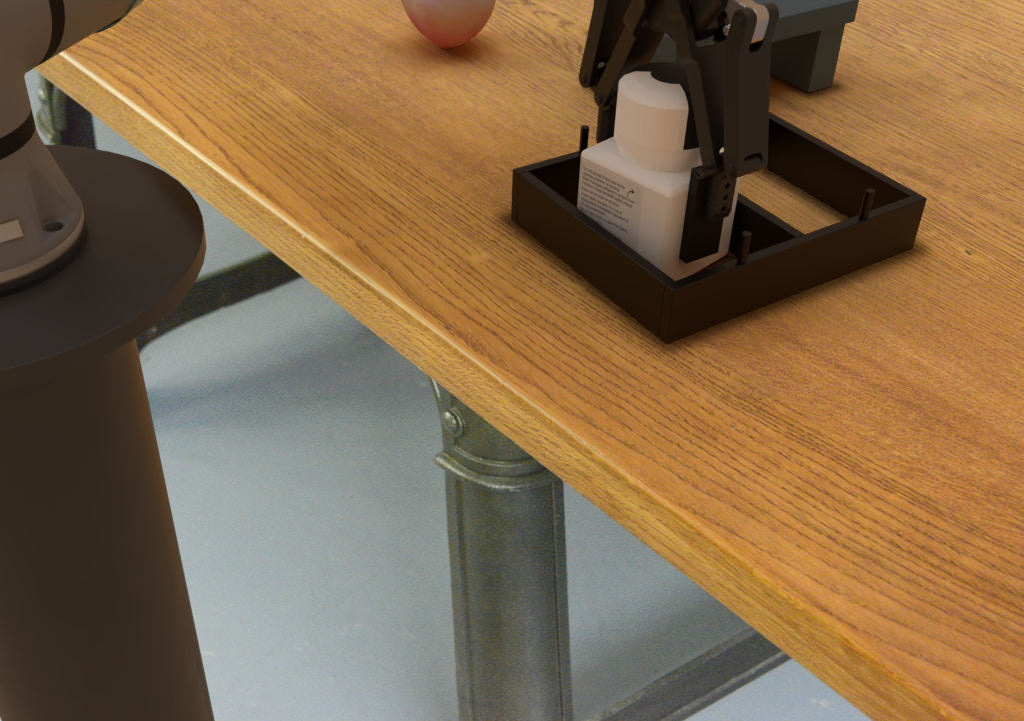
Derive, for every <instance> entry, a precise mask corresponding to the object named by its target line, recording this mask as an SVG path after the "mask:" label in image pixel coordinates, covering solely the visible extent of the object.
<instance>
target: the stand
mask: <svg viewBox="0 0 1024 721" xmlns="http://www.w3.org/2000/svg"><path fill="white" fill-rule="evenodd" d="M753 1H754V2H755V3H757V4H759V5H762V4H766V3H771V2H772V3H774V4H775V5H776V6H777V7H778V10H779V19H778V22H777V26H776V29H775V33H774V36H773V39H772V43H771V53H770V75H773V76H775V77H776V78H778V79H780V80H782V81H785V82H786V83H788V84H790V85H792V86H794V87H796V88H798V89H800V90H802V91H804V92H805V93H813V92H816V91H820V90H824V89H827V88H831V87H833V84H834V81H835V80H834V79H835V76H836V75H835V74H836V69H837V65H838V60H839V57H840V56H839V55H840V52H841V46H842V42H843V37H844V33H845V27H846V24H847V25H848V24H850V23H854V22H855V21H856V16H857V12H858V7H859V3H860V0H753ZM594 2H595V0H593V3H594ZM593 6H594V4H593ZM593 6H592V7H593ZM712 41H713V35H712V36H711V37H710V38H708V39H705V40H701V41H697V42H696V45H697V46H701V45H706V44H710V43H712ZM656 62H675V63H682V62H680V60H679V59H678V56H677V50H676V43H675V41H673V40H672V39H671V38H670V37H669V36H668V35H667V34H666V33H665V34H664V36H663V38H662V40H661V42H660V44H659V46H658V48H657V50H656V52H655V54H654V56H653V58H652V60H651V62H650V63H656ZM682 64H684V63H682ZM599 66H603V62H601V63H599V65H598V67H599Z"/></svg>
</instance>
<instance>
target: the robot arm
mask: <svg viewBox="0 0 1024 721" xmlns="http://www.w3.org/2000/svg"><path fill="white" fill-rule="evenodd" d="M144 1H145V0H0V297H3V296H7V295H10V294H13V293H16V292H19V291H22V290H24V289H27V288H29V287H32V286H34V285H36V284H38V283H40V282H42V281H44V280H46V279H48V278H50V277H51V276H53V275H55V274H56V273H58V272H59V271H61V270H62V269H63V268H65V267H66V266H67V265H69V264H70V263H71V262H72V261H73V260H74V259H75V258H76V257H77V255H78V254H79V253H80V252H81V250H82V249H83V247H84V245H85V243H86V239H87V234H88V230H87V224H86V220H85V215H84V211H83V206H82V203H81V200H80V199H79V197H78V196H77V194H76V192H75V191H74V189H73V188H72V186H71V185H70V183H69V182H68V180H67V178H66V177H65V175H64V174H63V172H62V171H61V169H60V168H59V166H58V164H57V163H56V161H55V160H54V158H53V157H52V155H51V153H50V152H49V150H48V149H47V147H46V146H45V145H46V144H45V142H44V141H43V139H42V138H41V136H40V134H39V132H38V129H37V126H36V120H35V118H34V112H33V109H32V104H31V100H30V96H29V92H28V87H27V82H26V78H25V76H26V74H27V73H28V72H30V71H32V70H34V69H35V68H37V67H38V66H41V65H43V64H44V63H46V62H47V61H50V60H51V59H52V58H54V57H56V56H58V55H59V54H61V53H62V52H64V51H66V50H68V49H69V48H71V47H73V46H75V45H76V44H78V43H80V42H81V41H83V40H85V39H86V38H88V37H90V36H92V35H93V34H98V33H102V32H104V31H106V30H108V29H111V28H113V27H114V26H117V25H118V24H119V23H121V22H122V20H123V19H124V18H126V17H128V15H129V14H130V13H131V12H132V11H133V10H135V9H136V8H137V7H138V6H140V5H141V4H142V3H143V2H144ZM593 5H594V6H592V12H591V15H590V16H591V17H590V21H589V25H588V30H587V35H586V39H585V45H584V50H583V53H582V54H583V55H582V59H581V63H580V68H579V72H578V81H579V83H580V86H581V88H582V89H590V90H591V91H592V92H593V99H594V103H595V105H596V106H597V107H598V109H597V110H598V111H597V122H596V125H597V126H596V134H595V135H596V136H595V142H596V144H598V143H600V142H603V141H605V140H607V139H609V138H611V137H614V128H615V117H616V106H617V95H618V85H619V80H620V79H621V77H622V76H623V75H624V74H625V73H626V72H628V71H629V70H631V69H632V68H635V67H638V66H641V65H645V64H650V62H651V60H652V58H653V56H654V54H655V52H656V50H657V48H658V46H659V44H660V42H661V40H662V38H663V36H664V34H665V33H666V34H667V35H668V36H669V37H670V38H671V39H672V40H673V41H675V43H676V50H677V56H678V59H679V60H680V62H682V63H684V64H685V65H686V69H687V75H688V81H689V88H690V94H691V100H692V106H693V112H694V118H695V124H696V130H697V137H698V143H699V149H700V155H701V161H702V165H701V166H698V167H694V168H691V175H690V182H689V190H688V197H687V204H686V211H685V218H684V225H683V233H682V240H681V247H680V254H679V259H680V260H682V261H683V262H685V263H686V264H687V263H690V262H693V261H696V260H699V259H701V258H704V257H707V256H710V255H713V254H716V253H718V250H719V244H720V238H721V232H722V226H723V220H724V218H725V217H728V216H729V214H730V212H731V210H732V204H733V203H732V202H733V196H734V192H735V186H736V181H737V178H738V177H741V178H742V177H744V176H747V175H750V174H753V173H756V172H760V171H763V170H765V169H767V168H766V167H767V164H768V134H769V112H770V94H771V93H770V90H771V73H770V53H771V43H772V39H773V36H774V33H775V29H776V26H777V22H778V19H779V10H778V7H777V6H776V5H775V4H774V3H772V2H771V3H766V4H762V5H759V4H757V3H755V2H754V1H753V0H595V2H594V1H593ZM712 35H713V41H712V43H710V44H706V45H701V46H697V45H696V42H697V41H701V40H705V39H708V38H710V37H711V36H712ZM601 62H603V66H599V67H598V65H599V63H601ZM722 148H724V152H721V153H720V150H721V149H722Z"/></svg>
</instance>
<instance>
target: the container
mask: <svg viewBox="0 0 1024 721" xmlns="http://www.w3.org/2000/svg"><path fill="white" fill-rule="evenodd" d="M721 152H724V148H722V149H721V150H720V153H721ZM701 165H702V161H701V155H700V149H699V143H698V137H697V130H696V124H695V118H694V112H693V106H692V100H691V94H690V88H689V81H688V75H687V69H686V65H685V64H682V63H675V62H656V63H650V64H645V65H641V66H638V67H635V68H632V69H631V70H629V71H628V72H626V73H625V74H624V75H623V76H622V77H621V79H620V80H619V85H618V95H617V106H616V117H615V128H614V137H611V138H609V139H607V140H605V141H603V142H600V143H598V144H597V143H596V144H594V145H592V146H588V148H587V149H585V150H583V151H582V153H581V162H580V176H579V189H578V202H577V205H576V208H578V209H579V210H581V211H582V212H583V213H585V214H586V215H587V216H589V217H590V218H591V219H593V220H594V221H595V222H597V223H598V224H599V225H601V226H602V227H603V228H605V229H606V230H607V231H609V232H610V233H611V234H613V235H614V236H615V237H617V238H618V239H619V240H621V241H622V242H624V243H625V244H626V245H628V246H629V247H630V248H632V249H633V250H634V251H636V252H637V253H638V254H640V255H641V256H642V257H644V258H645V259H646V260H648V261H649V262H650V263H652V264H653V265H654V266H656V267H657V268H658V269H660V270H661V271H662V272H664V273H665V274H667V275H668V276H669V277H671V278H672V279H673V280H674V281H677V280H679V279H682V278H685V277H688V276H690V275H693V274H696V273H699V272H701V271H702V270H703V269H705V268H707V267H708V266H710V265H711V264H713V263H715V262H716V261H718V260H720V259H722V258H724V257H725V256H727V254H728V253H729V250H728V249H729V243H730V237H731V231H732V226H733V220H734V214H735V208H736V202H737V196H738V192H739V190H740V184H741V178H742V176H741V177H738V178H737V181H736V186H735V192H734V196H733V202H732V203H733V204H732V210H731V212H730V214H729V216H728V217H725V218H724V220H723V226H722V232H721V238H720V244H719V250H718V253H716V254H713V255H710V256H707V257H704V258H701V259H699V260H696V261H693V262H690V263H687V264H686V263H685V262H683V261H682V260H680V259H679V254H680V247H681V240H682V233H683V225H684V218H685V211H686V204H687V197H688V190H689V182H690V175H691V168H694V167H698V166H701Z"/></svg>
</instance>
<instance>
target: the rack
mask: <svg viewBox="0 0 1024 721" xmlns="http://www.w3.org/2000/svg"><path fill="white" fill-rule="evenodd" d="M589 136H590V126H589V125H588V124H582V125H580V133H579V147H578V150H576V151H573V152H569V153H566V154H562V155H559V156H555V157H551V158H548V159H544V160H540V161H537V162H534V163H533V162H532V163H530V164H526V165H523V166H522V165H521V166H520V167H516V168H513V169H512V177H511V178H512V181H511V205H510V206H511V208H510V219H511V221H513V222H514V223H515V224H517V225H518V226H520V227H521V229H523V230H524V231H525V232H527V233H528V234H529V235H531V236H532V237H533V238H534V239H536V240H537V241H538V242H539V243H541V244H542V245H543V247H545V248H546V249H548V250H549V251H550V252H552V253H553V254H554V255H555V256H557V257H558V258H559V259H560V260H562V261H563V262H564V263H565V264H567V265H568V266H569V267H570V268H571V269H572V270H574V271H575V272H577V273H578V274H579V275H580V276H581V277H582V278H584V279H585V280H586V281H587V282H589V283H590V284H591V285H592V286H594V287H595V288H596V289H598V291H599V292H601V293H602V294H603V295H605V296H606V297H607V298H608V299H610V300H611V301H612V302H613V303H614V304H616V305H617V306H619V307H620V308H621V309H622V310H623V311H625V312H626V313H627V314H628V315H630V316H631V317H632V318H633V319H635V320H636V321H637V322H638V323H639V324H641V325H642V326H643V327H644V328H646V329H647V330H648V331H650V332H651V333H652V334H653V335H655V336H656V337H657V338H658V339H660V340H661V341H662V342H663V343H664V344H666V345H667V344H669V343H672V342H674V341H678V340H680V339H683V338H685V337H688V336H690V335H692V334H695V333H698V332H700V331H703V330H705V329H708V328H711V327H713V326H716V325H718V324H721V323H723V322H726V321H728V320H731V319H734V318H736V317H739V316H742V315H744V314H746V313H749V312H753V311H754V310H757V309H759V308H762V307H764V306H767V305H770V304H772V303H775V302H777V301H780V300H783V299H785V298H788V297H790V296H793V295H795V294H798V293H801V292H803V291H805V290H808V289H811V288H813V287H816V286H818V285H821V284H823V283H826V282H828V281H829V282H830V281H831V280H834V279H836V278H840V277H841V276H844V275H847V274H849V273H851V272H855V271H857V270H859V269H862V268H864V267H868V266H870V265H873V264H875V263H878V262H880V261H883V260H886V259H888V258H890V257H893V256H896V255H897V254H901V253H902V252H906V251H908V250H910V249H911V250H912V249H914V246H915V244H916V243H915V242H916V240H917V236H918V232H919V228H920V224H921V222H922V217H923V214H924V211H925V206H926V203H927V200H928V198H927V197H925V196H924V195H922V194H920V193H918V191H915V190H913V189H911V188H909V187H907V186H906V185H904V184H903V183H900V182H898V181H897V180H895V179H893V178H891V177H889V176H888V175H885V174H884V173H882V172H880V171H878V170H876V169H874V168H873V167H871V166H869V165H867V164H866V163H864V162H862V161H860V160H858V159H856V158H855V157H853V156H851V155H849V154H847V153H845V152H844V151H841V150H840V149H838V148H836V147H834V146H832V145H831V144H830V143H827V142H825V141H823V140H822V139H821V138H819V137H817V136H814V135H812V134H811V133H808V132H807V131H805V130H803V129H801V128H800V127H798V126H796V125H795V124H792V123H790V122H789V121H787V120H785V119H783V118H781V117H779V116H777V115H776V114H774V113H772V112H770V111H769V134H768V164H767V167H766V168H765V169H768V170H769V171H770V172H773V173H774V174H776V175H778V176H779V177H781V178H783V179H785V180H786V181H787V182H789V183H791V184H792V185H795V186H796V187H798V188H799V189H801V190H803V191H804V192H806V193H808V194H810V195H811V196H813V197H815V198H817V199H818V200H820V201H822V202H823V203H825V204H826V205H828V206H830V207H832V208H833V209H835V210H837V211H838V212H840V213H842V214H843V215H845V216H847V217H849V218H847V219H844V220H840V221H838V222H835V223H832V224H830V225H827V226H823V227H821V228H819V229H815V230H813V231H811V232H808V233H804V232H803V231H800V230H799V229H798V228H795V227H794V226H793V225H791V224H789V223H788V222H787V221H785V220H783V219H781V217H778V216H777V215H775V214H773V213H772V212H770V211H769V210H767V209H765V208H764V207H762V206H761V205H759V204H758V203H756V202H754V201H753V200H752V199H750V198H748V197H747V196H745V195H743V194H741V193H740V192H739V191H738V196H737V202H736V208H735V214H734V220H733V226H732V231H731V237H730V243H729V249H728V252H731V253H732V254H733V255H735V256H737V258H735V259H732V260H729V261H727V262H724V263H721V264H719V265H716V266H715V265H714V266H713V267H710V268H708V269H704V270H701V271H698V272H696V273H695V274H693V275H690V276H688V277H685V278H682V279H679V280H677V281H674V280H673V279H672V278H671V277H669V276H668V275H667V274H665V273H664V272H662V271H661V270H660V269H658V268H657V267H656V266H654V265H653V264H652V263H650V262H649V261H648V260H646V259H645V258H644V257H642V256H641V255H640V254H638V253H637V252H636V251H634V250H633V249H632V248H630V247H629V246H628V245H626V244H625V243H624V242H622V241H621V240H619V239H618V238H617V237H615V236H614V235H613V234H611V233H610V232H609V231H607V230H606V229H605V228H603V227H602V226H601V225H599V224H598V223H597V222H595V221H594V220H593V219H591V218H590V217H589V216H587V215H586V214H585V213H583V212H582V211H581V210H579V209H578V208H577V202H578V189H579V176H580V162H581V153H582V151H583V150H585V149H587V148H589Z"/></svg>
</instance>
